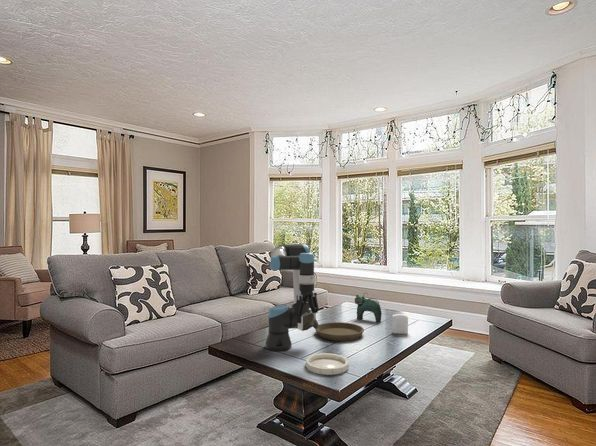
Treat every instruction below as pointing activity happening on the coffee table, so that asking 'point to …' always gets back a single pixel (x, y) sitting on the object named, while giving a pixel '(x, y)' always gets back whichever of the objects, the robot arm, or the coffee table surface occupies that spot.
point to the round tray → (327, 364)
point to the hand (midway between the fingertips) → (306, 327)
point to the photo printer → (400, 324)
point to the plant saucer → (339, 331)
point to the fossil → (309, 321)
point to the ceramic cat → (368, 307)
